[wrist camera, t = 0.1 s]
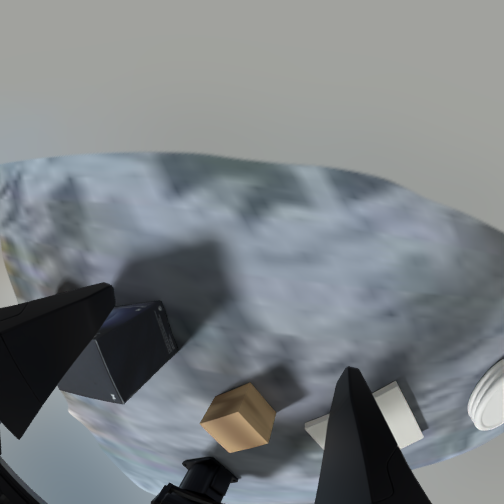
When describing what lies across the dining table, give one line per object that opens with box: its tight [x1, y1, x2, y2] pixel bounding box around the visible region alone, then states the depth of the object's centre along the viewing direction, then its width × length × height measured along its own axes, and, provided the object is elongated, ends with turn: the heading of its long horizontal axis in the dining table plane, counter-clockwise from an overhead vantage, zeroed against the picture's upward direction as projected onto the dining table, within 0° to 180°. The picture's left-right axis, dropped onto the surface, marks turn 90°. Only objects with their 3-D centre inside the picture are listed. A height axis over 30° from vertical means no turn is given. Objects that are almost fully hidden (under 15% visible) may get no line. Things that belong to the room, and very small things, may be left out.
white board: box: [305, 381, 424, 450], centre depth 24 cm, size 11×11×1 cm
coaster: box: [468, 359, 504, 431], centre depth 19 cm, size 10×10×4 cm
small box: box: [57, 301, 178, 404], centre depth 24 cm, size 11×6×10 cm, turn 104°
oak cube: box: [200, 383, 276, 453], centre depth 25 cm, size 5×5×5 cm
